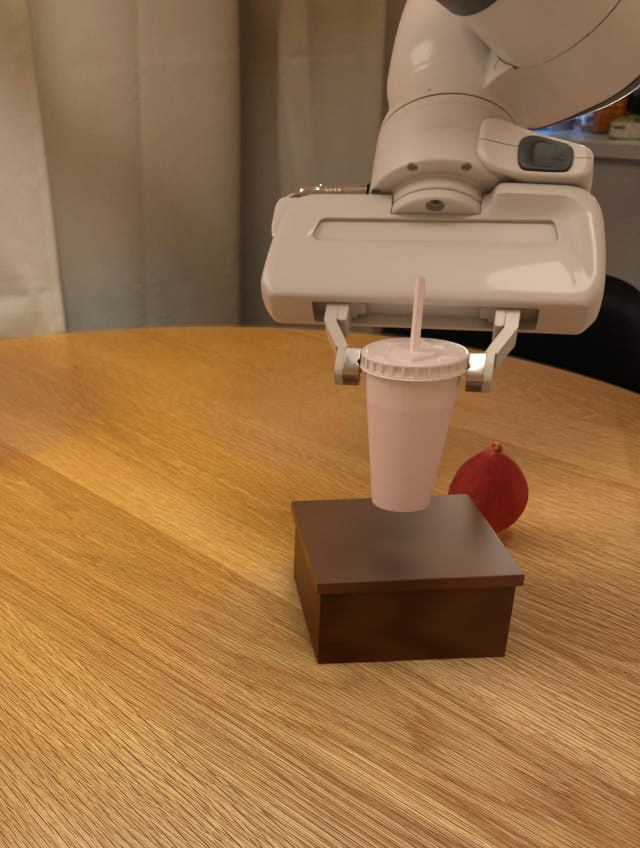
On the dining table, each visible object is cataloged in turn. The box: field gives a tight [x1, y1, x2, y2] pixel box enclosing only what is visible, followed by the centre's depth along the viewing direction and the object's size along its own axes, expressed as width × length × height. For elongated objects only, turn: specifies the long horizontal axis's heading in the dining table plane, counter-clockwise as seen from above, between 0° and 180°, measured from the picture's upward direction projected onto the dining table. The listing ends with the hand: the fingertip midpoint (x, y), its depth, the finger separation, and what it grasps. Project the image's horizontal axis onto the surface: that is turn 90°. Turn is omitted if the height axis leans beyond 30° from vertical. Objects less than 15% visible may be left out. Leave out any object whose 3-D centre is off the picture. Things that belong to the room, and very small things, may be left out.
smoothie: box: [360, 276, 470, 512], centre depth 61 cm, size 6×6×14 cm
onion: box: [447, 441, 530, 535], centre depth 77 cm, size 6×6×8 cm
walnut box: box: [290, 494, 526, 664], centre depth 68 cm, size 13×13×6 cm
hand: (411, 384), depth 60 cm, fingers closed on smoothie, 6 cm apart
